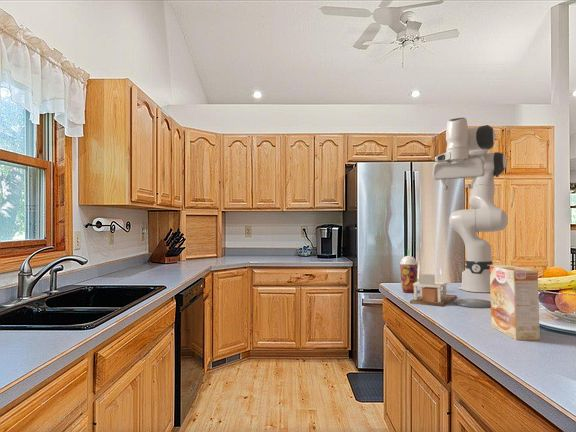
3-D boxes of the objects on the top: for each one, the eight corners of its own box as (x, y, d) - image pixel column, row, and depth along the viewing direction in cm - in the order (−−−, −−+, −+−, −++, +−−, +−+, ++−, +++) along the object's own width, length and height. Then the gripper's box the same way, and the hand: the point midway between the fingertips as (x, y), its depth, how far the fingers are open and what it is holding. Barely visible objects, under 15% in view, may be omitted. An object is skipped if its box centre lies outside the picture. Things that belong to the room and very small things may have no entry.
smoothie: (403, 290, 201) (402, 249, 202) (420, 291, 197) (419, 249, 197) (397, 292, 195) (396, 250, 195) (415, 294, 190) (414, 250, 190)
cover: (420, 296, 177) (419, 271, 177) (447, 298, 170) (446, 272, 171) (413, 299, 170) (412, 273, 170) (440, 302, 163) (440, 275, 163)
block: (426, 300, 174) (425, 286, 174) (438, 302, 171) (437, 287, 171) (422, 302, 169) (422, 288, 170) (434, 304, 167) (434, 289, 167)
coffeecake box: (490, 326, 130) (488, 265, 130) (513, 326, 129) (511, 264, 130) (515, 340, 115) (513, 270, 115) (541, 340, 114) (539, 270, 115)
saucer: (459, 300, 174) (459, 297, 174) (496, 303, 165) (496, 300, 165) (451, 305, 162) (450, 303, 162) (489, 309, 154) (489, 306, 154)
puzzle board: (426, 295, 187) (426, 292, 187) (456, 297, 179) (456, 295, 179) (409, 303, 169) (409, 300, 169) (442, 306, 161) (442, 303, 161)
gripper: (485, 154, 169) (486, 188, 169) (434, 159, 180) (435, 191, 179) (484, 152, 164) (484, 187, 163) (431, 157, 174) (431, 190, 174)
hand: (458, 189), depth 171 cm, fingers open, 8 cm apart
